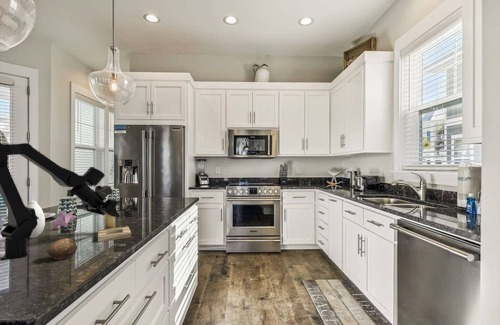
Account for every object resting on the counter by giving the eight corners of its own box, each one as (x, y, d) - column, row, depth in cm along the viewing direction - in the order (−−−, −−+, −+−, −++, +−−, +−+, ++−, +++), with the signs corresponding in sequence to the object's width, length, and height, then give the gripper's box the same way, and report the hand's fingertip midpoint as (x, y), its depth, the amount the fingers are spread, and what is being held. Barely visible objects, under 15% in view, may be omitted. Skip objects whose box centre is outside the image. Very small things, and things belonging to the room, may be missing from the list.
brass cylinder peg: (115, 232, 117) (115, 203, 117) (104, 233, 115) (104, 204, 115) (115, 230, 121) (115, 202, 121) (104, 231, 119) (104, 203, 119)
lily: (81, 227, 131) (74, 211, 132) (81, 222, 122) (73, 206, 123) (55, 238, 124) (48, 221, 125) (53, 234, 115) (45, 216, 116)
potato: (53, 244, 90) (57, 231, 88) (78, 250, 93) (82, 238, 91) (40, 262, 83) (44, 249, 81) (67, 268, 86) (71, 256, 84)
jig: (131, 237, 109) (131, 232, 109) (98, 241, 103) (97, 236, 103) (128, 230, 119) (128, 226, 119) (98, 234, 113) (98, 230, 113)
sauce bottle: (49, 235, 112) (48, 194, 112) (29, 241, 105) (29, 196, 105) (36, 234, 114) (35, 193, 114) (15, 239, 107) (15, 196, 107)
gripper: (113, 180, 109) (136, 202, 119) (87, 179, 118) (111, 200, 128) (95, 202, 103) (121, 223, 112) (69, 199, 111) (95, 219, 121)
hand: (112, 215), depth 119 cm, fingers open, 9 cm apart
